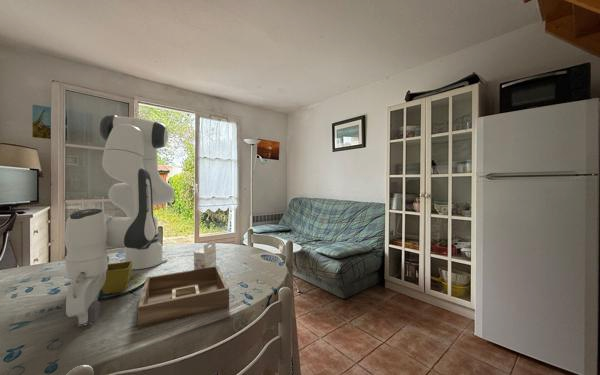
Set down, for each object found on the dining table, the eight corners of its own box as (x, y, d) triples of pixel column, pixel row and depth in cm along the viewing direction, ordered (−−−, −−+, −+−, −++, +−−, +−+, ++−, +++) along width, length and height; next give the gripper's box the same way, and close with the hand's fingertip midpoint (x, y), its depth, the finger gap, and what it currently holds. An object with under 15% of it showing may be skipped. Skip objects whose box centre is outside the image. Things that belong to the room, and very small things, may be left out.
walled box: (146, 294, 83) (146, 277, 83) (217, 280, 94) (217, 266, 94) (138, 329, 64) (137, 307, 64) (229, 307, 75) (229, 288, 75)
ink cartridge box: (206, 272, 102) (206, 239, 102) (216, 273, 102) (216, 239, 101) (193, 281, 94) (193, 244, 94) (204, 282, 93) (204, 245, 93)
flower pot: (97, 298, 80) (96, 272, 79) (104, 288, 87) (103, 264, 87) (128, 293, 84) (128, 268, 83) (133, 283, 91) (132, 260, 91)
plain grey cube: (81, 319, 68) (81, 304, 68) (99, 315, 70) (99, 301, 70) (76, 327, 65) (76, 311, 64) (95, 322, 66) (95, 307, 66)
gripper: (90, 278, 59) (91, 332, 60) (110, 255, 77) (111, 296, 78) (56, 283, 56) (57, 340, 57) (84, 258, 74) (85, 301, 75)
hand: (88, 314), depth 67 cm, fingers open, 6 cm apart
